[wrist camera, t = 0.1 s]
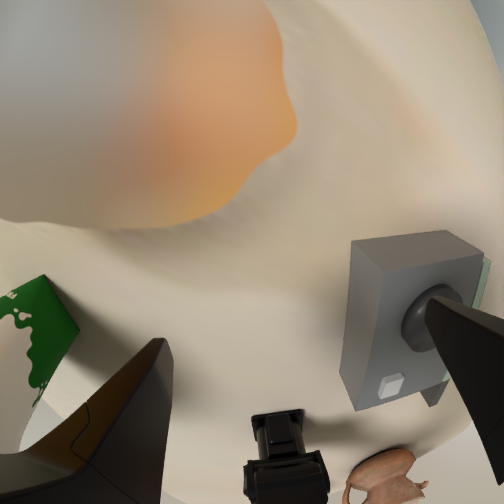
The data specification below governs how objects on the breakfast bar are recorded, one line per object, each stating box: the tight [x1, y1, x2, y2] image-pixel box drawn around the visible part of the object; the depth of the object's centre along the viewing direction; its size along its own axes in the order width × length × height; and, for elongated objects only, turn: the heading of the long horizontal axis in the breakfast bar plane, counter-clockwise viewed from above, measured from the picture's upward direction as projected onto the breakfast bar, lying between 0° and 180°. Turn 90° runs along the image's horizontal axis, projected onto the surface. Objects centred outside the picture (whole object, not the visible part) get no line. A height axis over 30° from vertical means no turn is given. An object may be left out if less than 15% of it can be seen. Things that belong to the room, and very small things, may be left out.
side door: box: [420, 257, 491, 407], centre depth 25 cm, size 20×1×6 cm, turn 5°
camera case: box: [339, 230, 484, 412], centre depth 23 cm, size 16×11×7 cm
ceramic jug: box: [342, 449, 429, 504], centre depth 37 cm, size 18×14×14 cm
